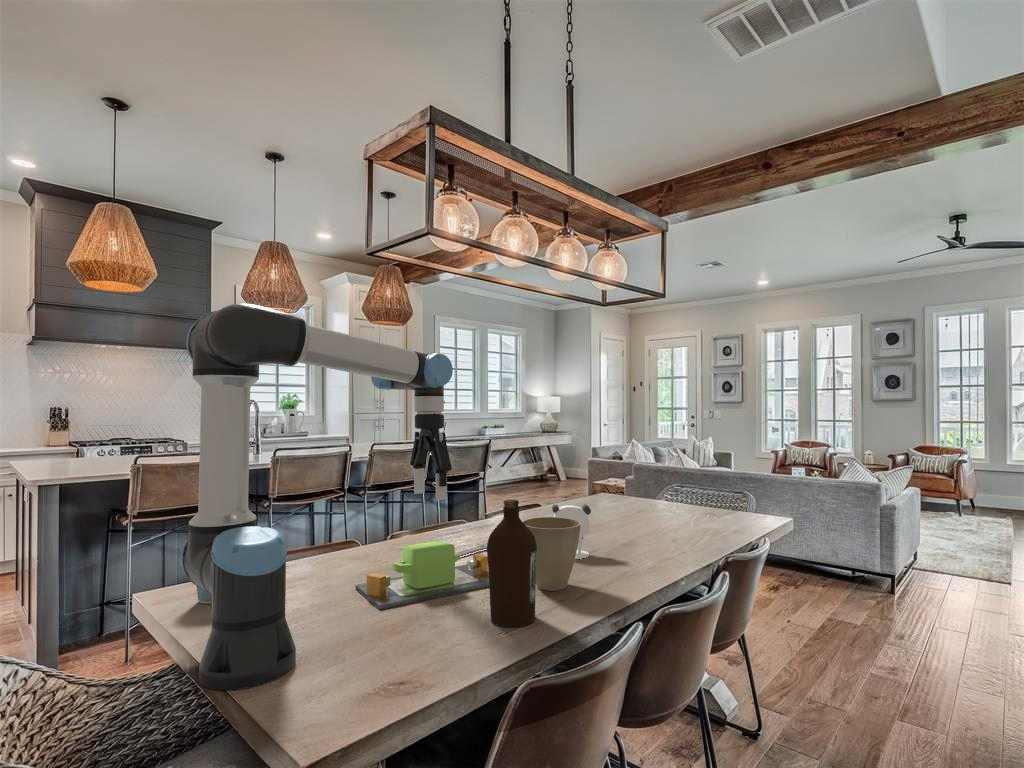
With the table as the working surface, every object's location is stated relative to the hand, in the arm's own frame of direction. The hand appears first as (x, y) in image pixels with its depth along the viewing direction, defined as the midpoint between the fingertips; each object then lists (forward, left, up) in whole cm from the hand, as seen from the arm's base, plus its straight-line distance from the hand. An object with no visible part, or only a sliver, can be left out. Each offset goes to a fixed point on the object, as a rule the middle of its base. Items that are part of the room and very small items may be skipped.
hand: (429, 496), depth 141 cm
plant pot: (-18, -25, -23) cm, 38 cm away
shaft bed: (0, 0, -23) cm, 23 cm away
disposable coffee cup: (+21, +47, -23) cm, 56 cm away
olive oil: (-31, -5, -23) cm, 39 cm away
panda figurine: (+3, -48, -23) cm, 53 cm away
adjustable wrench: (+23, -23, -23) cm, 40 cm away
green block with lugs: (0, 0, -22) cm, 22 cm away
